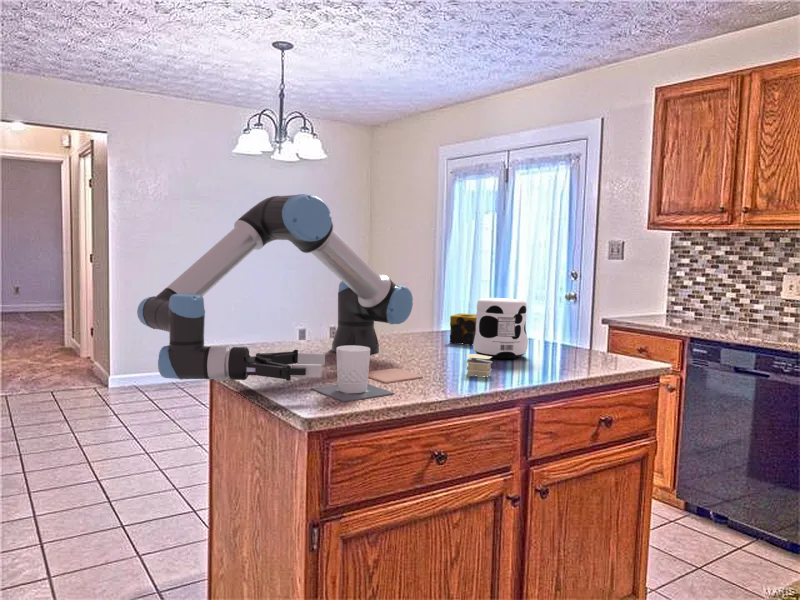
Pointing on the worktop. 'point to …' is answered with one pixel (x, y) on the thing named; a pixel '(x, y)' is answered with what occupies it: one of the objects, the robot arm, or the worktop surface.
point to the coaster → (392, 375)
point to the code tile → (346, 397)
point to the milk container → (500, 328)
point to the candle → (462, 328)
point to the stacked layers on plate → (478, 365)
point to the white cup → (352, 368)
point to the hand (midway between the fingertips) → (323, 364)
